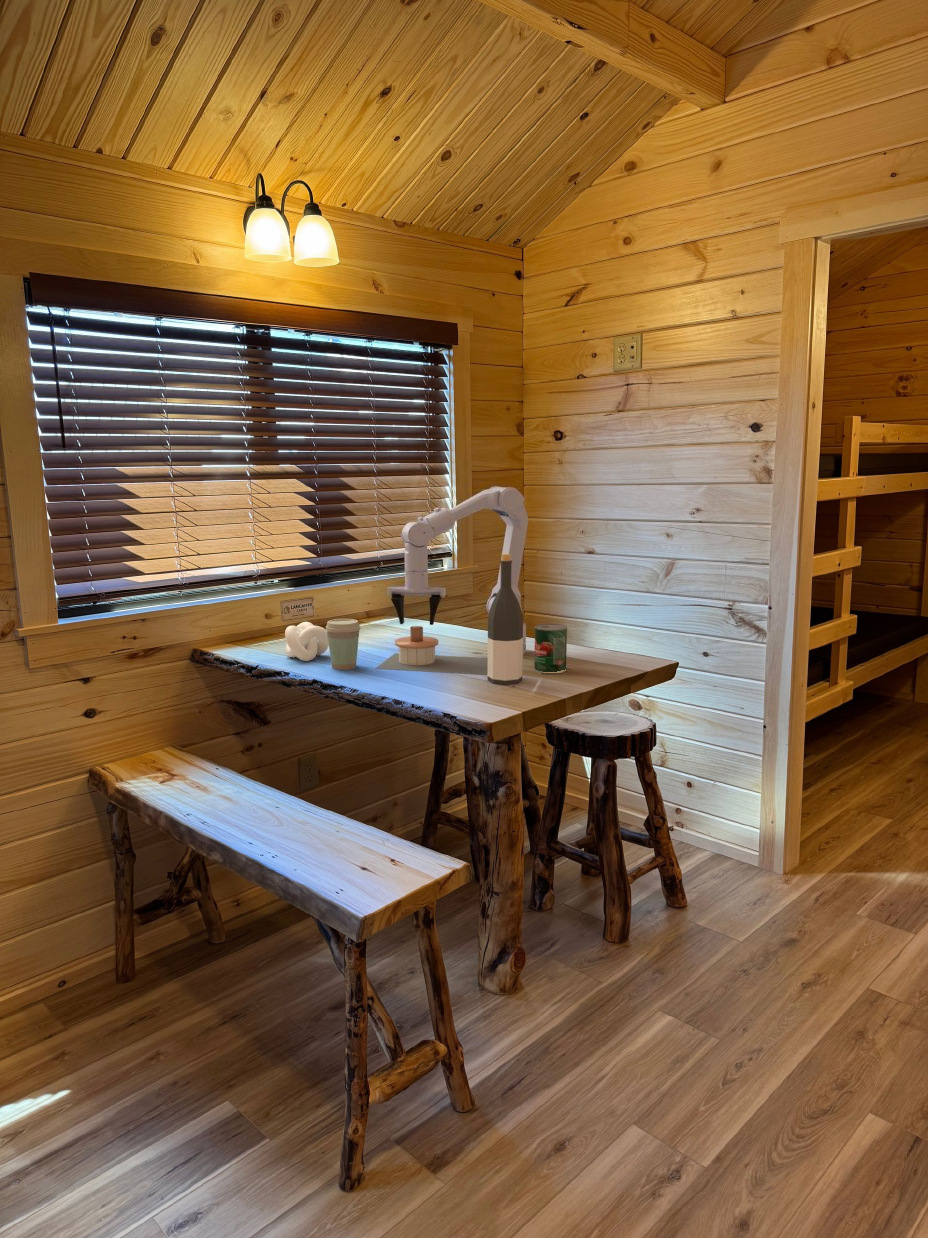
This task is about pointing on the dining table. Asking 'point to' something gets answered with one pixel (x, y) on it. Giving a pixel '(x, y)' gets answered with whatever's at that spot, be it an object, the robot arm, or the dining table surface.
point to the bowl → (417, 656)
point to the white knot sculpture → (306, 641)
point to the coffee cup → (343, 642)
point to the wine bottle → (505, 632)
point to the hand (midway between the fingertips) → (416, 623)
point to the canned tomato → (550, 647)
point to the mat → (441, 665)
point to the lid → (416, 639)
